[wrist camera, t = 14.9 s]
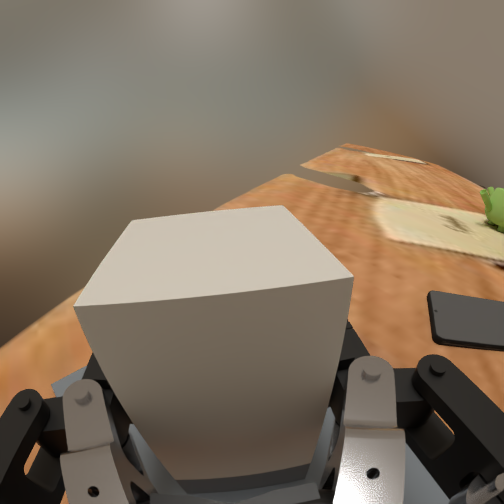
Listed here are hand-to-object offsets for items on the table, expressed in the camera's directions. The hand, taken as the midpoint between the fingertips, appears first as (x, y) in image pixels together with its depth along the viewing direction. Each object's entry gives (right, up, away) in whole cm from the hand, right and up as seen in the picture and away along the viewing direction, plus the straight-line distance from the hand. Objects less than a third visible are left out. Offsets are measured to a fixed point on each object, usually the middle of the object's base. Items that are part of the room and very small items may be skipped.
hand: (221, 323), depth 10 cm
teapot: (+49, +7, +28) cm, 57 cm away
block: (0, +3, -3) cm, 4 cm away
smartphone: (+22, -4, +6) cm, 23 cm away
